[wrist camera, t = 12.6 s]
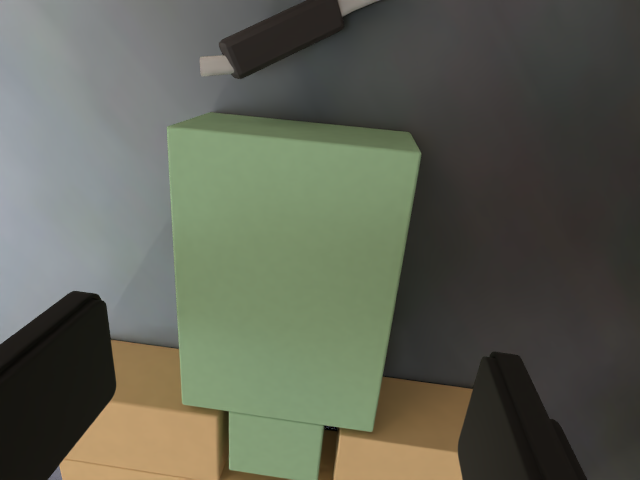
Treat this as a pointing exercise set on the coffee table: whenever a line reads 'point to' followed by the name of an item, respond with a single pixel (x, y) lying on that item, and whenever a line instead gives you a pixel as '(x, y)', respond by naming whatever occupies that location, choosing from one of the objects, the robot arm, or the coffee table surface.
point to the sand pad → (213, 431)
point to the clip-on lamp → (279, 37)
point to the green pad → (286, 277)
